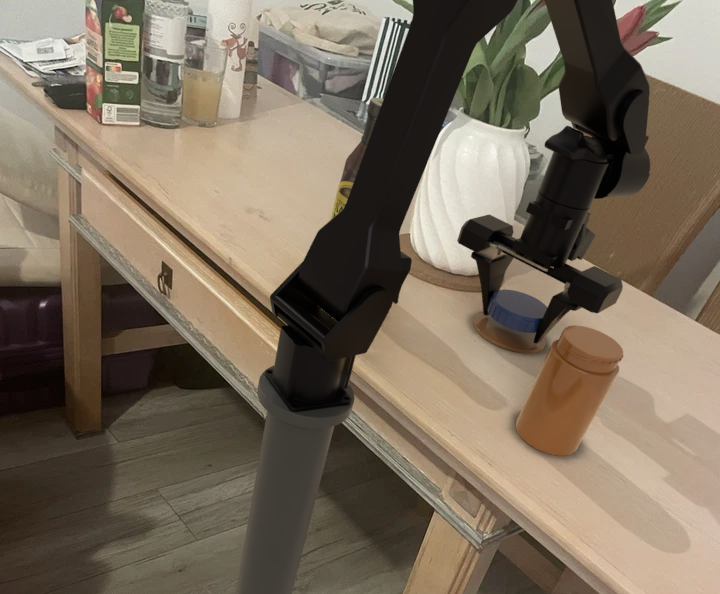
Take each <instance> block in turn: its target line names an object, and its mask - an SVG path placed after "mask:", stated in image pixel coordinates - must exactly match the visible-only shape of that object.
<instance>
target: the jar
mask: <svg viewBox="0 0 720 594" xmlns="http://www.w3.org/2000/svg"><path fill="white" fill-rule="evenodd" d="M624 356H625V355H624V350H623V347H622V346H621V345H620V343H619V342H617V340H615V339H614V338H612V337H611V336H609V335H608V334H606V333H604V332H602V331H600V330H597V329H594V328H592V327H588V326H583V325H568V326H566V327H565V328H563V330H562V332H561V334H560V336H559V338H558V339H556V340H554V341H553V342H552V343H551V345H550V347H549V349H548V351H547V353H546V355H545V358H544V360H543V363H542V364H541V367H540V369H539V371H538V374H537V376H536V378H535V380H534V382H533V385H532V386H531V388H530V391H529V393H528V395H527V397H526V400H525V401H524V403H523V406H522V408H521V410H520V412H519V415H518V417H517V418H516V421H515V429H516V432H517V434H518V436H519V437H520V438H521V439H522V440H523V441H524V442H525V443H526V444H528V445H529V446H531V447H532V448H534V449H536V450H538V451H540V452H542V453H546V454H548V455H553V456H569V455H572V454H574V453H575V452H576V451H577V450H578V448H579V447H580V445H581V443H582V441H583V439H584V437H585V435H586V433H587V432H588V430H589V428H590V426H591V424H592V422H593V421H594V418H595V417H596V415H597V413H598V412H599V409H600V408H601V406H602V404H603V402H604V400H605V398H606V396H607V395H608V393H609V392H610V390H611V387H612V386H613V384H614V382H615V381H616V379H617V376H618V375H619V373H620V366H619V363H620V362H622V360H623V358H624Z"/></svg>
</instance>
